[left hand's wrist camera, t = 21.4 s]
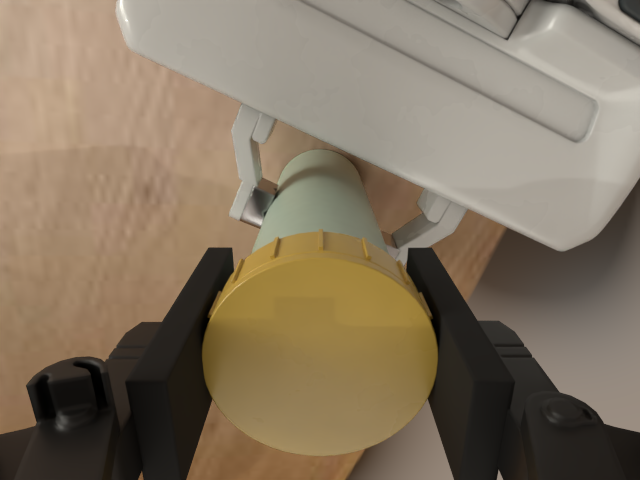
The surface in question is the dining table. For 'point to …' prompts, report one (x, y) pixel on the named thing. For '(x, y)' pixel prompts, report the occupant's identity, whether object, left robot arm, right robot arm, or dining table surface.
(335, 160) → the jar
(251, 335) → the lid
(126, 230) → the dining table surface
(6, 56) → the dining table surface
